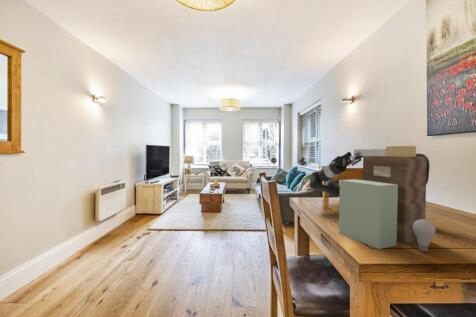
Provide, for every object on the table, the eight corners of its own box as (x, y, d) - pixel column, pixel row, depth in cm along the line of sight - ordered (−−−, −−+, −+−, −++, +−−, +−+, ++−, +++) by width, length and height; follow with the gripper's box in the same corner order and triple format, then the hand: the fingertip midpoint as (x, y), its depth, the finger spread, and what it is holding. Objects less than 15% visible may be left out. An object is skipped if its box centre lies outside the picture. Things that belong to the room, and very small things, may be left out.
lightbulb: (439, 256, 76) (440, 222, 76) (417, 254, 78) (418, 221, 77) (428, 249, 82) (428, 217, 82) (408, 247, 84) (409, 216, 83)
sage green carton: (355, 230, 102) (355, 179, 102) (396, 245, 85) (397, 184, 85) (338, 232, 99) (339, 180, 98) (378, 249, 82) (380, 185, 82)
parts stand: (381, 226, 108) (382, 156, 107) (424, 239, 91) (426, 156, 91) (361, 229, 103) (362, 156, 103) (403, 244, 87) (405, 156, 86)
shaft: (360, 155, 114) (360, 147, 114) (415, 156, 91) (415, 146, 91) (351, 155, 112) (351, 147, 112) (406, 156, 89) (406, 146, 89)
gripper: (347, 174, 126) (371, 160, 113) (326, 175, 121) (349, 160, 108) (342, 162, 130) (364, 146, 117) (321, 162, 124) (342, 146, 111)
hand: (357, 153), depth 112 cm, fingers open, 8 cm apart
